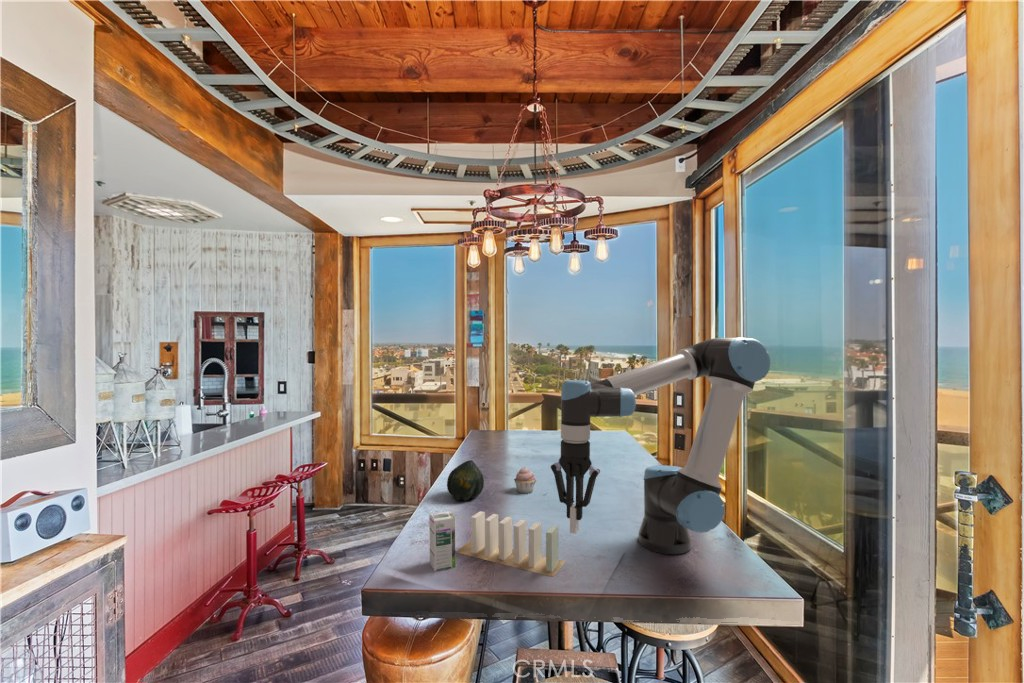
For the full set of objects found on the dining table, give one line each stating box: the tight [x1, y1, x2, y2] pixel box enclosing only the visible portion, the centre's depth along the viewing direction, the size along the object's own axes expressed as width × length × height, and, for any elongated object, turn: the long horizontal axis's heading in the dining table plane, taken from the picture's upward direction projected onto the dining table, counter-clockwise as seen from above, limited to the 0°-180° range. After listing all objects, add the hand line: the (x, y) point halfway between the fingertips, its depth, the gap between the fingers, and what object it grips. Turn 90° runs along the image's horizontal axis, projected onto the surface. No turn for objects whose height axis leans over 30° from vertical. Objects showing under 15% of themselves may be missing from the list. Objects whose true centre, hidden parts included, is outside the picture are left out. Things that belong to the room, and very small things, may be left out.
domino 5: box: [528, 521, 543, 568], centre depth 122 cm, size 2×5×10 cm, turn 153°
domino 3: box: [498, 516, 513, 560], centre depth 126 cm, size 2×5×10 cm, turn 153°
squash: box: [446, 459, 485, 502], centre depth 177 cm, size 14×15×15 cm
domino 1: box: [470, 510, 486, 553], centre depth 130 cm, size 2×5×10 cm, turn 153°
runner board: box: [455, 540, 566, 578], centre depth 125 cm, size 30×9×1 cm, turn 63°
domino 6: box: [545, 525, 560, 572], centre depth 119 cm, size 2×5×10 cm, turn 154°
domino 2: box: [485, 513, 499, 557], centre depth 128 cm, size 2×5×10 cm, turn 153°
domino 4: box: [512, 518, 528, 564], centre depth 124 cm, size 2×5×10 cm, turn 153°
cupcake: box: [513, 466, 537, 494], centre depth 184 cm, size 9×9×10 cm
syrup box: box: [428, 510, 456, 572], centre depth 121 cm, size 6×6×14 cm
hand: (574, 531), depth 116 cm, fingers closed
